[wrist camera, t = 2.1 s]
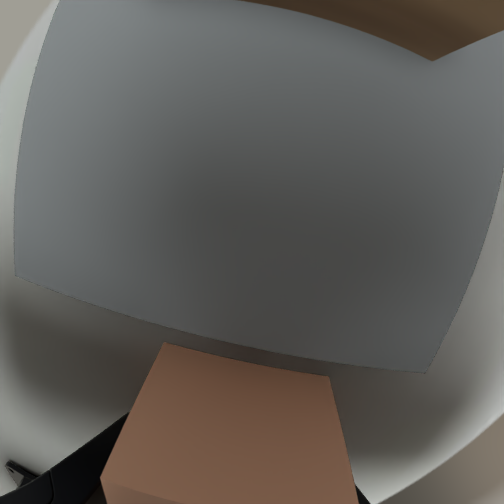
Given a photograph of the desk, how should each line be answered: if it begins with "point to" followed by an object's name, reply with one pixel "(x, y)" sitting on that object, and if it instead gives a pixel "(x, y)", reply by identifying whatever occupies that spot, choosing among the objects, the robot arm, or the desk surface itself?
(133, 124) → the mat
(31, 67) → the desk surface
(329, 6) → the walnut base
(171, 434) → the terracotta cube
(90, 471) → the robot arm
